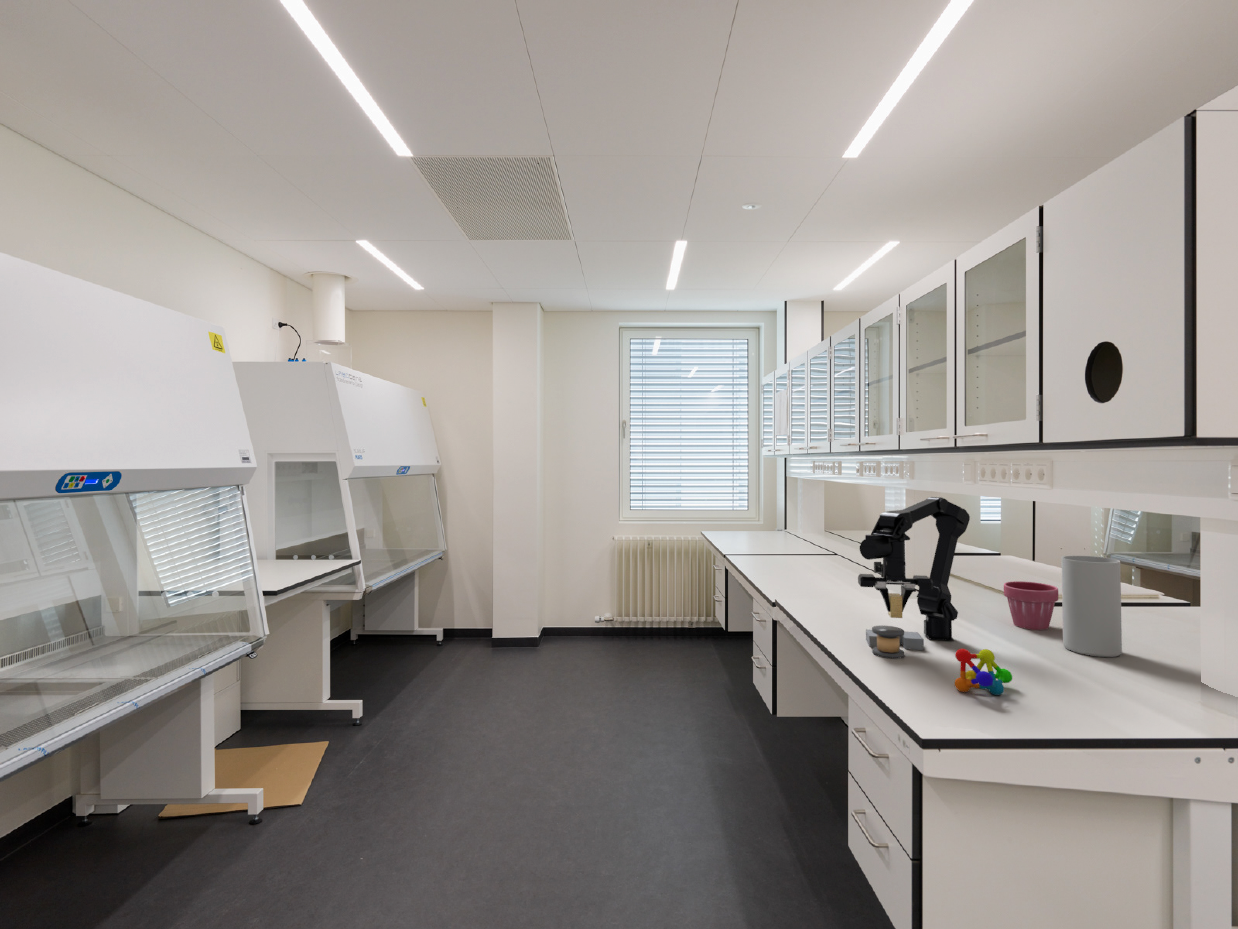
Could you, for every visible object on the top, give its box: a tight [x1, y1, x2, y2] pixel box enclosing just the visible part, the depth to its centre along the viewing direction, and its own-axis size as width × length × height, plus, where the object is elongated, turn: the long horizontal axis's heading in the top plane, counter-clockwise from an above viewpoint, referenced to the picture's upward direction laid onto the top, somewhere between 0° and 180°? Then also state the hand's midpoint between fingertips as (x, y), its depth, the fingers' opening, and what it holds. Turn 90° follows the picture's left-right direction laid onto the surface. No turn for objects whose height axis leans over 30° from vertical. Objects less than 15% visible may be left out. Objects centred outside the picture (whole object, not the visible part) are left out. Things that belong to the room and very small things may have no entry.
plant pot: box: [1003, 580, 1059, 631], centre depth 185 cm, size 14×14×13 cm
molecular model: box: [954, 648, 1013, 696], centre depth 134 cm, size 11×10×15 cm
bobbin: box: [871, 625, 906, 660], centre depth 160 cm, size 8×8×7 cm
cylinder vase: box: [1061, 555, 1123, 658], centre depth 160 cm, size 12×12×25 cm
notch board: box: [865, 628, 925, 651], centre depth 168 cm, size 14×7×3 cm, turn 75°
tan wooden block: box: [887, 592, 903, 619], centre depth 166 cm, size 3×4×6 cm
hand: (895, 611), depth 166 cm, fingers closed on tan wooden block, 3 cm apart
